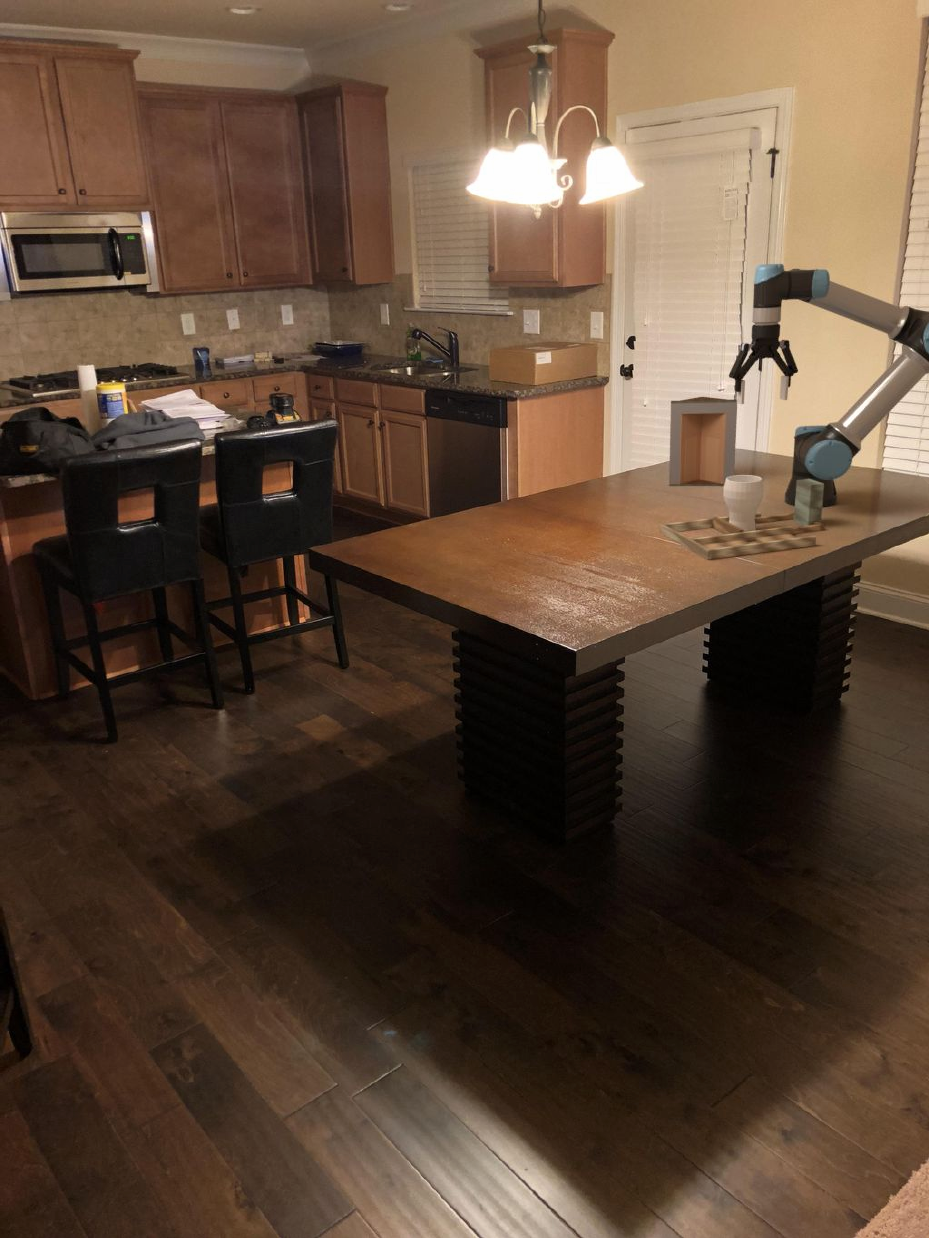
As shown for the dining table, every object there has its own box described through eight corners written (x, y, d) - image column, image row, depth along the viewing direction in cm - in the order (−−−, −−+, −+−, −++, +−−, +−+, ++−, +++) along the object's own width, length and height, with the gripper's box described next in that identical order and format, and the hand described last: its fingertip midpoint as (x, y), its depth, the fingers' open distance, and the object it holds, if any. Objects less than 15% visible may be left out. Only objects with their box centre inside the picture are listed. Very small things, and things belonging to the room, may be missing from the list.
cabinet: (669, 486, 327) (670, 401, 317) (669, 479, 336) (671, 397, 326) (733, 486, 322) (737, 400, 313) (732, 479, 331) (736, 395, 321)
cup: (763, 536, 265) (767, 482, 260) (723, 537, 267) (726, 483, 261) (758, 526, 275) (761, 474, 270) (719, 527, 276) (721, 474, 271)
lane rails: (759, 520, 281) (759, 512, 280) (815, 545, 255) (816, 536, 254) (659, 532, 274) (660, 524, 273) (707, 559, 248) (707, 550, 248)
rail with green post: (798, 517, 282) (801, 476, 278) (828, 529, 269) (832, 486, 264) (712, 527, 276) (714, 486, 272) (738, 540, 263) (741, 497, 258)
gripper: (798, 320, 275) (793, 396, 283) (718, 326, 270) (715, 403, 277) (814, 321, 268) (808, 399, 276) (732, 327, 263) (728, 406, 270)
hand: (762, 401), depth 276 cm, fingers open, 13 cm apart
